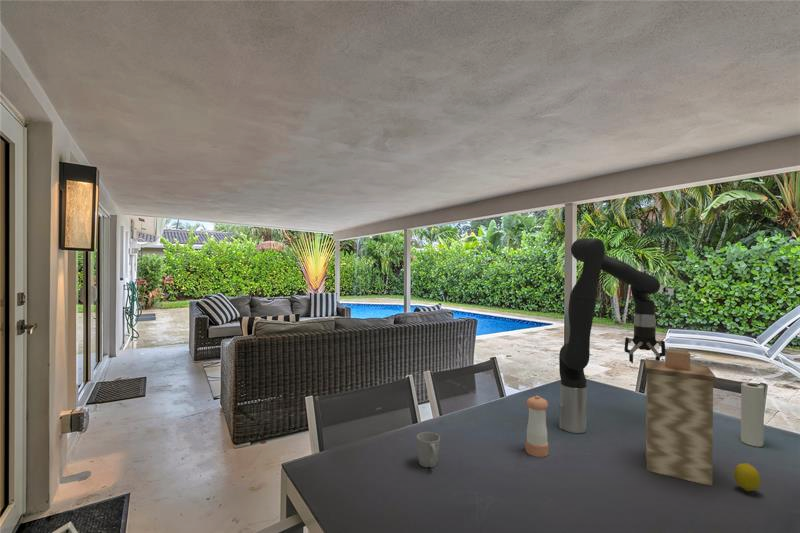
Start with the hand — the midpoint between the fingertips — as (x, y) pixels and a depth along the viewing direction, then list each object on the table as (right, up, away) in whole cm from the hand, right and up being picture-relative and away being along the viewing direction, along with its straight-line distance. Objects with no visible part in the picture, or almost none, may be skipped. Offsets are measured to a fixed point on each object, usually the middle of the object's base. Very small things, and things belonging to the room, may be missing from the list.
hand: (644, 364), depth 158 cm
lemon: (-2, -24, -48) cm, 54 cm away
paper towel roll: (+29, -25, -18) cm, 42 cm away
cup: (-91, -23, -36) cm, 101 cm away
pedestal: (-13, -24, -36) cm, 45 cm away
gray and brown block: (-8, +8, -29) cm, 31 cm away
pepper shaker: (-54, -23, -26) cm, 64 cm away
